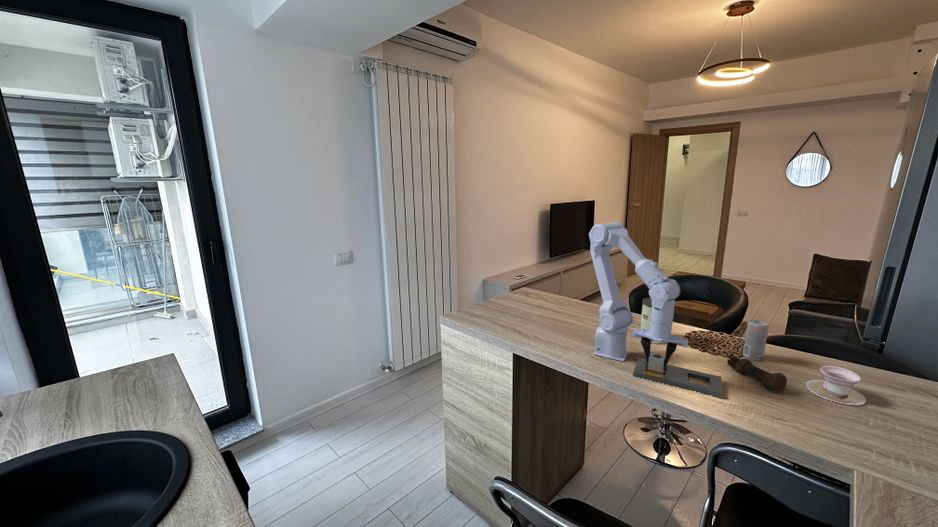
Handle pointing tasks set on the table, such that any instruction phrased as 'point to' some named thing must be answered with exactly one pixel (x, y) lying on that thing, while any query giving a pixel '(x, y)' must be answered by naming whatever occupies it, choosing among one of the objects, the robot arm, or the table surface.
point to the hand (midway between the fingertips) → (656, 363)
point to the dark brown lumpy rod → (759, 374)
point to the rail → (681, 378)
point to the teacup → (838, 383)
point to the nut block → (656, 363)
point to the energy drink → (755, 340)
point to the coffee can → (647, 316)
